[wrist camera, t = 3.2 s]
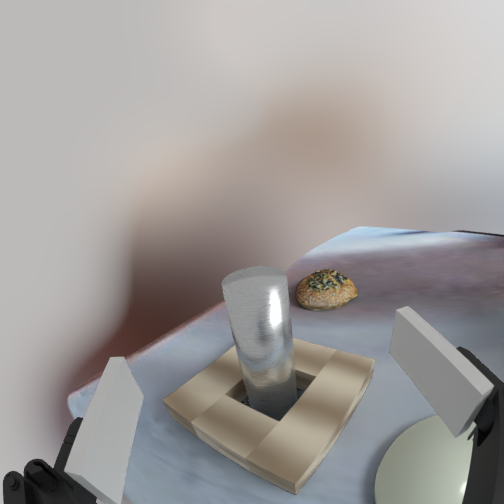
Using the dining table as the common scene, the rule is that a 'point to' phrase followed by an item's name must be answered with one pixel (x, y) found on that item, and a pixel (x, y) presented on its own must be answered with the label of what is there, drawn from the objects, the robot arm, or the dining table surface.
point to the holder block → (265, 428)
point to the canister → (263, 337)
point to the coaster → (425, 466)
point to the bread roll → (325, 290)
